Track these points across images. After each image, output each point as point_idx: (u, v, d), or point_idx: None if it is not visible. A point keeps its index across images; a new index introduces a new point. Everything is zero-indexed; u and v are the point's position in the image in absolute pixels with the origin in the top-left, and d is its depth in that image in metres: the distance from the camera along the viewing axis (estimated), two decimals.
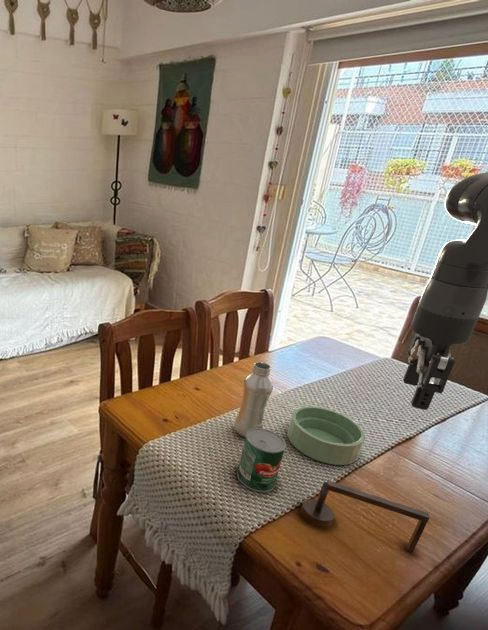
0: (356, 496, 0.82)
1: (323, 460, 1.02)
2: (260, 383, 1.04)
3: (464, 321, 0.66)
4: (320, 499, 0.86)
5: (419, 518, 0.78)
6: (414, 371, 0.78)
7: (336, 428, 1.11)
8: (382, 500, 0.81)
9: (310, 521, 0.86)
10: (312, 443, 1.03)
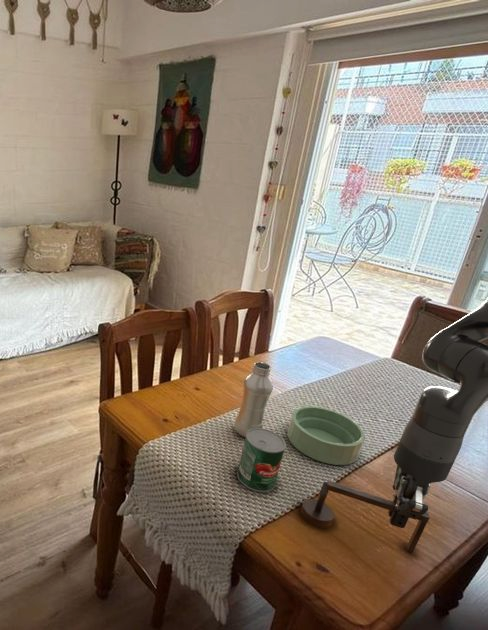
0: (356, 496, 0.82)
1: (323, 460, 1.02)
2: (260, 383, 1.04)
3: (441, 464, 0.71)
4: (320, 499, 0.86)
5: (419, 518, 0.78)
6: None
7: (336, 428, 1.11)
8: (382, 500, 0.81)
9: (310, 521, 0.86)
10: (312, 443, 1.03)
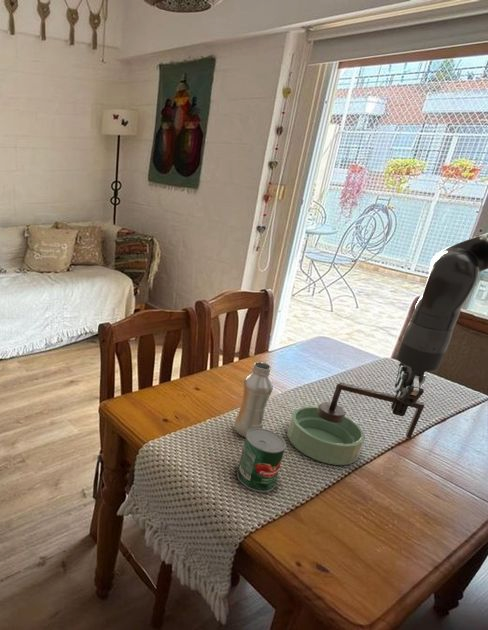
0: (364, 392, 1.00)
1: (323, 460, 1.02)
2: (260, 383, 1.04)
3: (434, 354, 0.89)
4: (334, 399, 1.04)
5: (416, 406, 0.96)
6: None
7: (336, 428, 1.11)
8: (386, 394, 0.98)
9: (326, 417, 1.04)
10: (312, 443, 1.03)
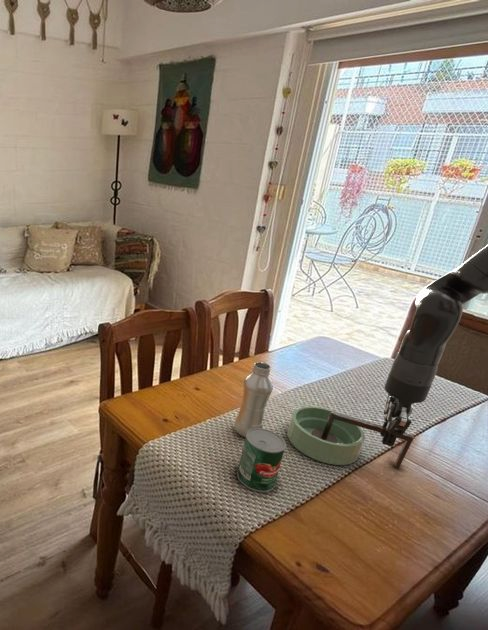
0: (356, 423, 1.03)
1: (323, 460, 1.02)
2: (260, 383, 1.04)
3: (421, 387, 0.92)
4: (326, 427, 1.07)
5: (405, 439, 0.99)
6: None
7: (336, 428, 1.11)
8: (377, 425, 1.01)
9: None
10: (312, 443, 1.03)
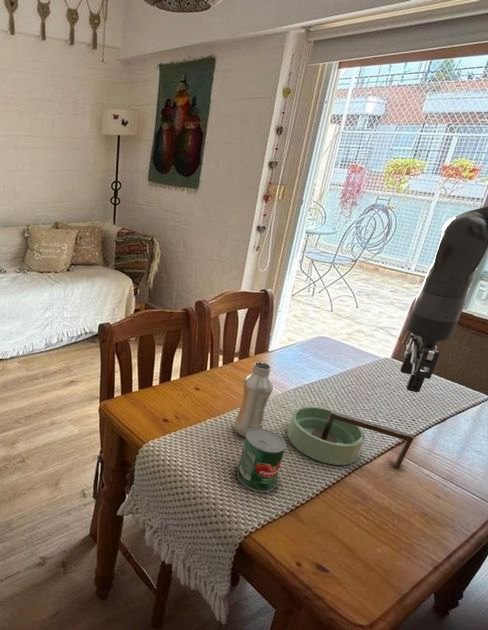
0: (356, 423, 1.03)
1: (323, 460, 1.02)
2: (260, 383, 1.04)
3: (446, 323, 0.86)
4: (326, 427, 1.07)
5: (405, 439, 0.99)
6: (409, 363, 0.98)
7: (336, 428, 1.11)
8: (377, 425, 1.01)
9: None
10: (312, 443, 1.03)
